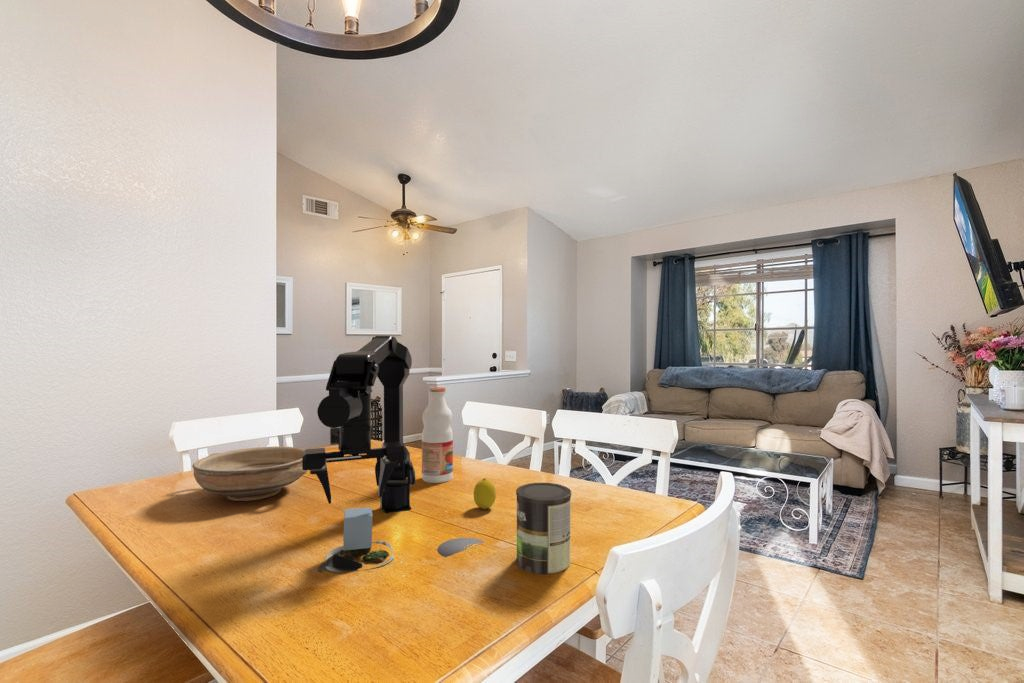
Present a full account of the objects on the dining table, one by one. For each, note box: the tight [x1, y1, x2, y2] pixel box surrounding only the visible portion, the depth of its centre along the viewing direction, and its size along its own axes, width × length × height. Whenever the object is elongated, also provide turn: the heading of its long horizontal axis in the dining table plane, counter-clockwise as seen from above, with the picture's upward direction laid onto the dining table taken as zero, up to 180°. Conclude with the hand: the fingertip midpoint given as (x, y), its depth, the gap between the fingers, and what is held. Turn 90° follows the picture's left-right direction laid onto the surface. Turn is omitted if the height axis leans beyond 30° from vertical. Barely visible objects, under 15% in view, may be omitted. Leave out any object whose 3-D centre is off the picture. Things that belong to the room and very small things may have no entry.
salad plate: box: [317, 540, 395, 574], centre depth 92 cm, size 15×14×4 cm
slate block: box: [342, 506, 374, 551], centre depth 92 cm, size 5×5×6 cm
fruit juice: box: [421, 386, 454, 484], centre depth 145 cm, size 9×9×28 cm
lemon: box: [473, 477, 497, 510], centre depth 118 cm, size 6×6×8 cm
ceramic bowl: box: [192, 446, 308, 502], centre depth 132 cm, size 37×29×10 cm
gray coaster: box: [437, 537, 485, 558], centre depth 95 cm, size 10×10×1 cm
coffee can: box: [515, 482, 572, 575], centre depth 89 cm, size 10×10×14 cm
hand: (355, 499), depth 92 cm, fingers open, 9 cm apart
